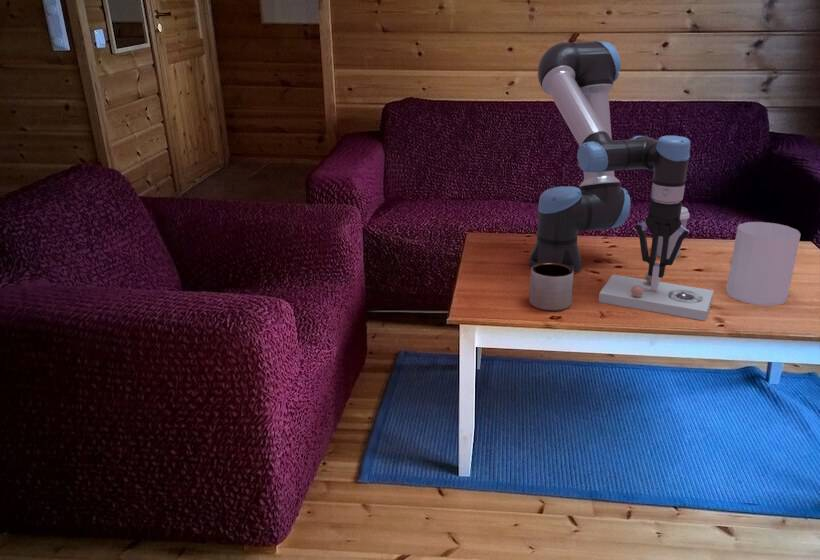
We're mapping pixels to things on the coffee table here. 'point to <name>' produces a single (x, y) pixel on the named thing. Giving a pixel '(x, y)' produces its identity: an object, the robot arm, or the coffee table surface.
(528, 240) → the coffee table surface
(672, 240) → the coffee cup
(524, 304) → the coffee table surface
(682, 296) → the steel ball
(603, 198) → the robot arm
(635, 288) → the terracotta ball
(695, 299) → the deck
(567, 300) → the planter
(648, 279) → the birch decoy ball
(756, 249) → the container
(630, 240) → the coffee table surface
